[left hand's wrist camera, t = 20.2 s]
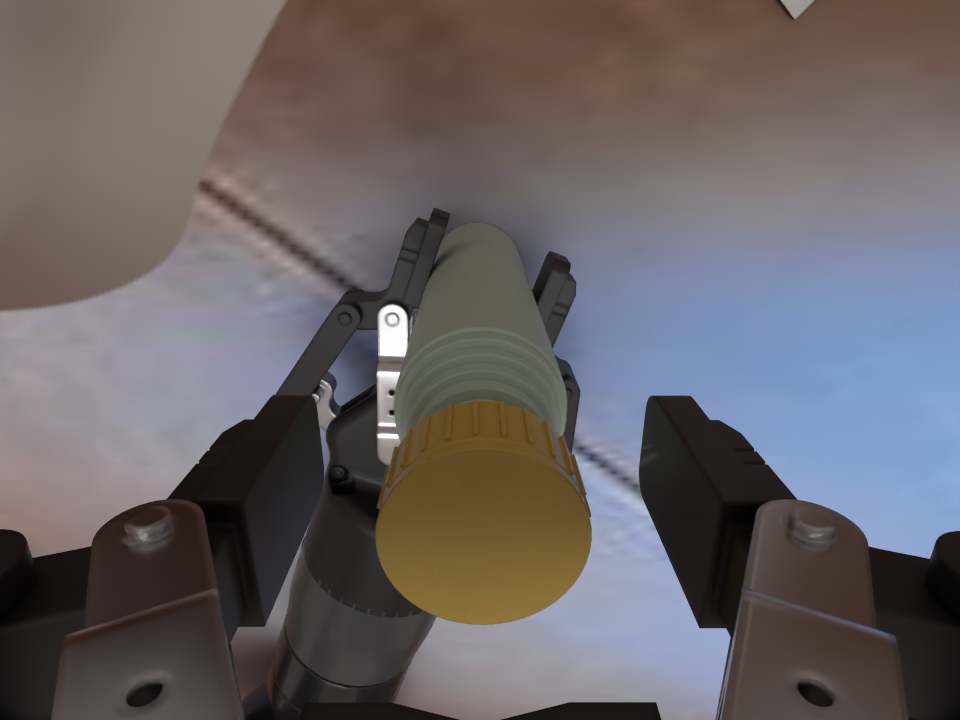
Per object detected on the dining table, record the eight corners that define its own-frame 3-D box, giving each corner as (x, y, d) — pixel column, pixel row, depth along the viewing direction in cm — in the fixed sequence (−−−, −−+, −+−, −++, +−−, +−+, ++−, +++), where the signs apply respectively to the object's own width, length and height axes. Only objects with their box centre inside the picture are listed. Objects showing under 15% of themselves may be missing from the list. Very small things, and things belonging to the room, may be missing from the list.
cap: (391, 562, 13) (379, 629, 11) (379, 398, 11) (363, 446, 10) (572, 560, 13) (588, 626, 11) (583, 396, 11) (602, 443, 10)
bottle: (538, 259, 30) (655, 506, 11) (483, 324, 31) (498, 649, 12) (470, 203, 29) (464, 363, 10) (416, 272, 30) (313, 536, 11)
